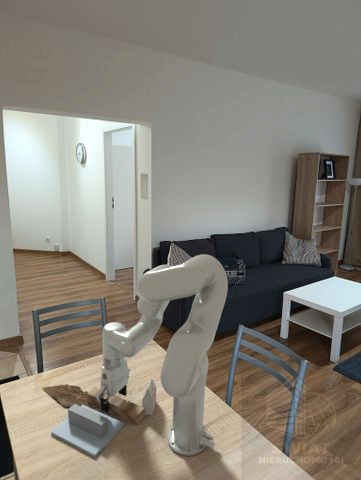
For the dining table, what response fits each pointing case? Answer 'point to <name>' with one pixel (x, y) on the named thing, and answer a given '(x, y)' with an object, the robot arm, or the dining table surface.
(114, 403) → the walnut bar
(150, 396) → the grey pointed block
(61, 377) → the dining table surface
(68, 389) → the wooden fragment
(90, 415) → the ridge stand
